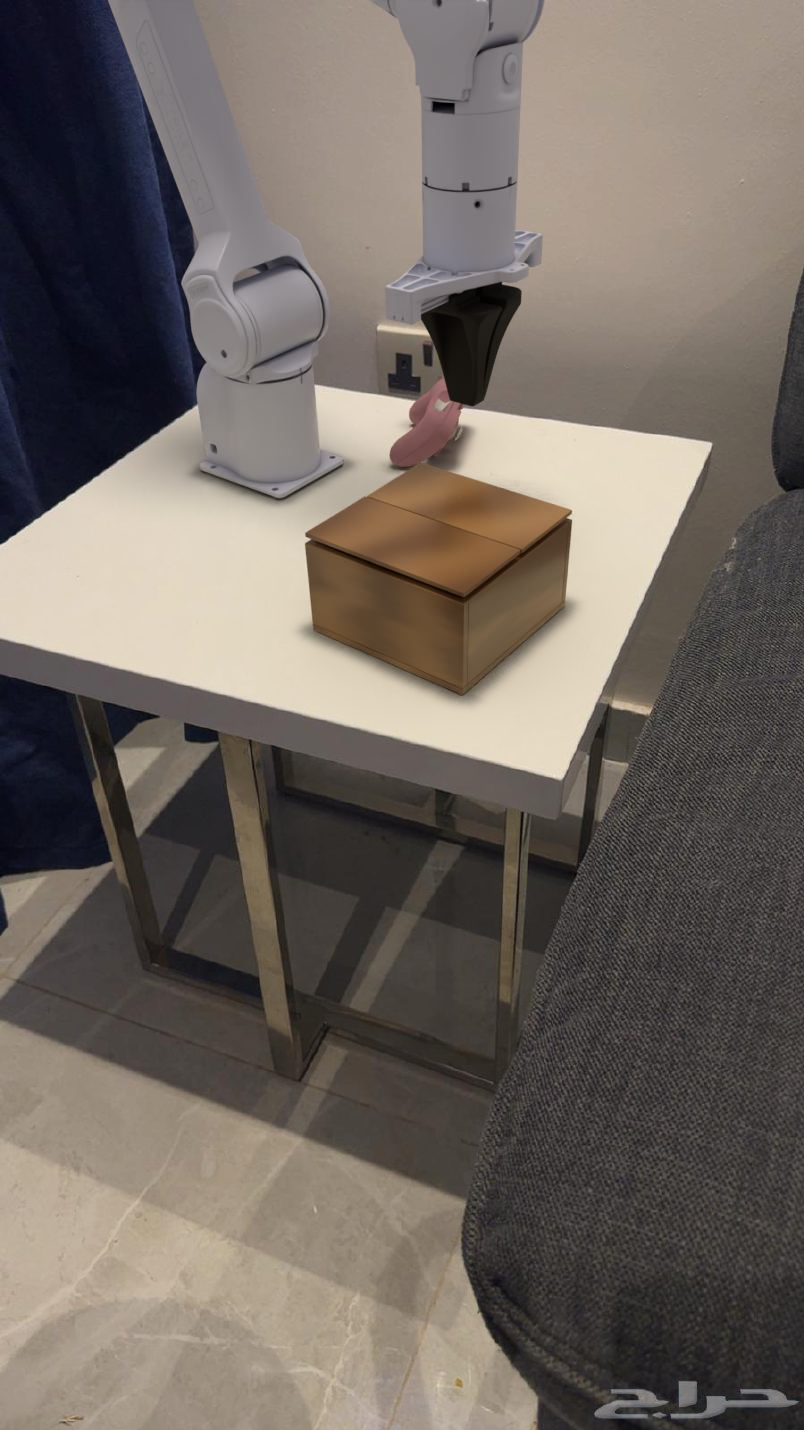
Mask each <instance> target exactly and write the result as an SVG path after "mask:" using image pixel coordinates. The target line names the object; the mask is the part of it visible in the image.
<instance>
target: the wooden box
mask: <svg viewBox="0 0 804 1430" xmlns="http://www.w3.org/2000/svg"><path fill="white" fill-rule="evenodd" d="M572 528H573V519H572V518H568V517H567V518H566V519H565V520H563V521H562V522H561V523H560V524H558V525H557V526H556V527H555V528H553V529H552V530H551V531H549V532H548V533H547V534H546V535H544V536H543V537H542V538H541V539H539V540H538V541H537V542H536V543H534V544H533V545H532V546H530V547H529V548H528V549H527V550H525V551H524V552H523V553H520V549H517V548H514V547H511V546H508V545H505V544H502V543H499V542H496V541H493V540H491V539H488V538H485V537H482V536H479V535H476V534H473V533H470V532H467V531H464V530H462V529H459V528H456V527H453V526H450V525H447V524H444V523H441V522H438V521H435V520H432V519H430V518H427V517H424V516H421V515H418V514H415V513H412V512H409V511H406V510H403V509H401V508H398V507H395V506H392V505H389V504H386V503H383V502H380V501H377V500H374V499H372V498H369V497H367V495H365V496H363V497H362V498H359V499H358V500H356V501H355V502H353V503H352V504H350V505H348V506H346V507H345V508H342V509H341V510H339V512H337V513H335V514H333V515H332V516H330V517H329V518H327V519H324V521H322V522H320V523H319V524H317V525H316V526H314V527H312V528H310V529H309V530H307V531H306V532H305V533H304V536H305V538H307V539H310V540H308V541H306V542H305V543H304V548H305V549H304V550H305V560H306V568H307V581H308V589H309V590H308V592H309V600H310V601H309V602H310V610H311V621H312V630H313V631H315V632H317V633H320V634H322V635H325V636H326V637H329V638H331V639H333V640H336V641H338V642H340V643H343V644H344V645H347V646H350V647H352V648H354V649H356V650H359V651H361V652H363V653H365V654H367V655H370V656H372V657H374V658H376V659H378V660H381V661H383V662H386V663H388V664H390V665H392V666H395V667H398V668H400V669H401V670H404V671H407V672H409V673H411V674H412V675H415V676H417V677H420V678H422V679H425V680H426V681H429V682H432V683H433V684H436V685H437V686H440V687H443V688H445V689H447V690H450V691H452V692H454V693H456V694H459V695H461V696H463V695H464V694H466V692H468V691H469V690H470V689H472V688H473V686H475V685H476V684H477V683H479V681H480V680H482V679H483V678H484V677H485V676H486V675H487V674H488V673H490V672H491V671H492V670H494V668H496V667H497V666H498V665H499V664H500V663H501V662H502V661H504V659H506V657H508V656H509V655H510V654H511V653H513V652H514V651H515V650H516V649H518V648H519V646H520V645H522V644H523V643H524V642H526V640H528V639H529V638H530V637H531V636H532V635H533V634H535V633H536V632H537V631H538V630H539V629H540V628H541V627H543V626H544V625H546V623H547V622H548V621H549V620H551V618H553V617H554V616H555V615H556V614H558V613H559V611H561V610H562V609H563V608H564V607H566V598H567V597H566V596H567V588H568V587H567V586H568V575H569V565H570V564H569V563H570V553H571V552H570V551H571V539H572Z"/></svg>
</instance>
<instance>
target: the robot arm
mask: <svg viewBox="0 0 804 1430" xmlns="http://www.w3.org/2000/svg"><path fill="white" fill-rule="evenodd" d="M107 1H108V4H109V7H110V10H111V12H112V14H113V18H114V20H115V23H116V25H117V28H118V31H119V33H120V37H121V39H122V42H123V44H124V47H125V50H126V52H127V55H128V57H129V60H130V63H131V67H132V69H133V72H134V74H135V76H136V80H137V82H138V84H139V88H140V90H141V93H142V96H143V98H144V100H145V103H146V106H147V109H148V110H149V114H150V117H151V119H152V122H153V125H154V128H155V130H156V133H157V135H158V139H159V141H160V143H161V144H160V145H161V146H162V149H163V152H164V154H165V157H166V160H167V163H168V165H169V168H170V171H171V173H172V175H173V179H174V181H175V183H176V186H177V187H176V188H177V189H178V192H179V194H180V197H181V200H182V202H183V205H184V208H185V210H186V213H187V216H188V219H189V221H190V224H191V227H192V230H193V232H194V235H195V238H196V240H197V243H198V247H197V249H196V251H195V252H194V255H193V257H192V258H191V261H190V263H189V265H188V267H187V269H186V270H185V273H184V274H183V276H182V279H181V283H180V285H181V287H182V289H183V293H184V295H185V298H186V300H187V304H188V309H189V317H190V327H191V334H192V338H193V341H194V344H195V346H196V349H197V350H198V352H199V354H200V355H201V357H202V358H203V360H204V361H205V363H204V364H203V366H202V368H201V370H200V373H199V375H198V379H197V383H196V392H195V393H196V403H197V408H198V409H197V410H198V415H199V422H200V428H201V434H202V441H203V445H204V446H203V447H204V453H205V459H206V460H204V461H202V462H200V463H199V469H200V471H203V472H205V473H208V474H210V475H214V476H216V477H219V478H221V479H225V480H227V481H230V482H233V483H235V484H238V485H240V486H244V487H246V488H249V489H251V490H254V491H257V492H260V493H263V494H266V495H269V496H271V497H274V498H277V499H283V498H285V497H288V496H289V495H290V494H293V493H294V492H295V491H298V490H300V489H301V488H304V486H307V485H308V484H310V483H312V482H314V481H315V480H317V479H319V478H321V477H322V476H324V475H326V474H327V473H329V472H331V471H333V470H334V469H337V468H339V467H340V466H341V465H343V464H344V458H343V457H342V456H339V455H336V454H333V453H331V452H330V453H329V452H326V451H324V450H321V446H320V432H319V422H318V421H319V419H318V409H317V397H316V386H315V385H316V384H315V373H314V363H313V360H314V359H315V358H316V357H318V356H319V348H318V342H320V340H322V339H323V337H324V336H325V335H326V334H327V331H328V329H329V326H330V323H331V322H330V320H331V305H330V300H329V296H328V293H327V291H326V288H325V286H324V284H323V282H322V281H321V279H320V278H319V275H318V274H317V273H316V272H315V271H314V269H313V268H312V267H311V265H310V263H309V261H308V260H307V257H306V254H305V252H304V249H303V246H302V243H301V241H300V240H299V239H298V238H297V237H295V236H294V235H292V234H291V233H290V232H288V231H286V230H285V229H283V228H281V227H280V226H278V225H277V224H275V223H273V221H271V220H270V219H269V218H268V215H267V211H266V209H265V206H264V202H263V199H262V197H261V194H260V192H259V189H258V185H257V182H256V180H255V177H254V174H253V170H252V167H251V164H250V162H249V159H248V156H247V154H246V150H245V148H244V144H243V141H242V139H241V136H240V133H239V130H238V127H237V123H236V121H235V118H234V115H233V112H232V109H231V107H230V103H229V102H228V101H229V100H228V98H227V95H226V92H225V89H224V86H223V83H222V80H221V78H220V75H219V72H218V69H217V66H216V63H215V60H214V57H213V54H212V51H211V47H210V45H209V43H208V40H207V36H206V33H205V30H204V28H203V25H202V22H201V19H200V16H199V13H198V10H197V8H196V5H195V1H194V0H107ZM369 1H370V2H371V3H373V4H374V5H376V6H377V7H379V8H380V9H382V10H383V11H385V12H386V13H387V14H389V15H390V16H392V17H393V18H395V19H397V21H398V23H399V27H400V30H401V32H402V35H403V37H404V40H405V41H406V44H407V45H408V47H409V48H410V52H411V53H412V56H413V59H414V68H415V72H414V73H415V74H414V75H415V86H417V87H419V94H420V99H421V100H420V105H421V106H420V107H421V111H420V112H421V168H422V169H421V173H422V174H421V176H422V178H421V179H422V181H421V196H422V197H421V198H422V199H421V201H422V256H421V257H419V259H418V260H416V262H414V264H413V265H411V266H410V267H409V268H408V269H407V270H406V271H405V272H404V273H403V274H402V275H401V276H400V277H399V278H397V280H394V281H393V282H391V283H389V284H387V285H385V286H384V297H385V319H387V320H390V321H394V322H398V323H403V324H406V325H407V324H408V325H414V324H417V323H419V322H422V323H423V326H424V327H425V329H426V331H427V334H428V336H429V337H430V339H431V342H432V344H433V346H434V348H435V352H436V355H437V358H438V360H439V364H440V369H441V371H442V375H443V377H444V379H445V383H446V387H447V391H448V395H449V399H450V401H453V402H457V403H461V404H464V406H469V407H475V406H477V405H479V404H480V403H482V402H483V401H485V398H486V395H487V392H488V388H489V384H490V380H491V377H492V373H493V369H494V366H495V363H496V360H497V355H498V352H499V349H500V346H501V344H502V341H503V339H504V336H505V335H506V331H507V329H508V327H509V325H510V323H511V321H512V319H513V318H514V316H515V314H516V313H517V312H518V309H519V308H520V306H521V304H522V295H523V293H522V289H521V288H519V287H516V286H512V285H507V284H514V283H517V282H520V281H521V280H524V279H526V278H527V277H528V276H529V270H530V269H529V268H535V267H537V266H539V265H542V256H543V255H542V254H543V238H544V235H543V233H541V232H533V231H528V230H527V231H526V230H521V229H517V230H516V223H517V201H518V175H519V153H520V152H519V150H520V128H521V126H520V125H521V121H520V120H521V103H522V81H523V80H522V79H523V78H522V77H523V57H524V56H523V55H524V54H523V53H524V43H525V42H526V41H527V40H528V39H529V38H530V37H531V35H532V34H533V32H534V31H535V30H536V27H537V26H538V24H539V22H540V19H541V16H542V14H543V10H544V6H545V0H369ZM246 270H255V271H256V272H258V273H255V274H252V275H250V276H247V277H245V278H242V279H239V280H237V281H235V279H236V277H237V275H239V274H240V273H242V272H243V271H246ZM503 283H507V284H503Z"/></svg>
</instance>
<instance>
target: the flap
mask: <svg viewBox="0 0 804 1430" xmlns="http://www.w3.org/2000/svg"><path fill="white" fill-rule="evenodd" d="M366 497H369V498H372V499H374V500H377V501H380V502H383V503H386V504H389V505H392V506H395V507H398V508H401V509H403V510H406V511H409V512H412V513H415V514H418V515H421V516H424V517H427V518H430V519H432V520H435V521H438V522H441V523H444V524H447V525H450V526H453V527H456V528H459V529H462V530H464V531H467V532H470V533H473V534H476V535H479V536H482V537H485V538H488V539H491V540H493V541H496V542H499V543H502V544H505V545H508V546H511V547H514V548H517V549H520V553H523V552H524V551H525V550H527V549H528V548H529V547H530V546H532V545H533V544H534V543H536V542H537V541H538V540H539V539H541V538H542V537H543V536H544V535H546V534H547V533H548V532H549V531H551V530H552V529H553V528H555V527H556V526H557V525H558V524H560V523H561V522H562V521H563V520H565V519H566V518H568V517H570V516H571V515H572V514H573V509H570V508H567V507H564V506H561V505H557V504H554V503H551V502H548V501H545V500H542V499H539V498H536V497H532V496H529V495H526V494H523V493H519V492H517V491H513V490H509V489H507V488H503V487H500V486H497V485H494V484H491V483H487V482H484V481H481V480H478V479H474V478H471V477H468V476H465V475H462V474H459V473H455V472H452V471H449V470H446V469H443V468H440V467H436V466H434V465H430V464H427V463H424V462H421V463H418V464H416V465H413V466H411V468H410V469H408V470H406V471H404V472H403V473H402V474H399V475H398V476H396V477H395V478H393V479H392V480H390V481H387V483H385V484H384V485H382V486H380V487H379V488H377V489H376V490H373V492H371V493H369V494H368V495H366Z"/></svg>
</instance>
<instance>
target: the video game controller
mask: <svg viewBox="0 0 804 1430" xmlns="http://www.w3.org/2000/svg"><path fill="white" fill-rule="evenodd" d="M464 407H465V405H464V404H461V403H457V402H453V401H450V399H449V395H448V391H447V387H446V383H445V379H444V376H443V377H442V378H440V380H438V381H436V383H435V384H433V386H432V387H431V389H430V390H429V391H427V392H426V393H425V394H423V395H422V396H420V397H419V398H418V399H416V400H415V401H414V402H413V404H412V405H411V406H410V408H409V411H408V417H409V421H410V422H411V423H412V424H413V425H415V426H414V427H413V428H412V429H410V430H409V431H407V432H406V433H405V434H403V435H402V436H401V437H399V438H398V439H397V440H396V441H395V442H393V444H392V446H391V447H390V450H389V460H390V461H391V463H392V464H393V465H394V466H396V467H400V468H404V467H414V466H416V465H417V464H419V463H423V462H424V461H426V460H427V459H429V458H431V457H433V456H434V457H435V458H437V457H438V456H439V454H440V452H441V451H442V450H443V449H444V447H445V446H446V444H447V442H448V441H450V440H451V439H453V440H454V441H457V440H458V439H459V438H460V437H461V435H462V434H463V426H460V427H459V421H460V416H461V414H462V411H461V410H463V409H464Z"/></svg>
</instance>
